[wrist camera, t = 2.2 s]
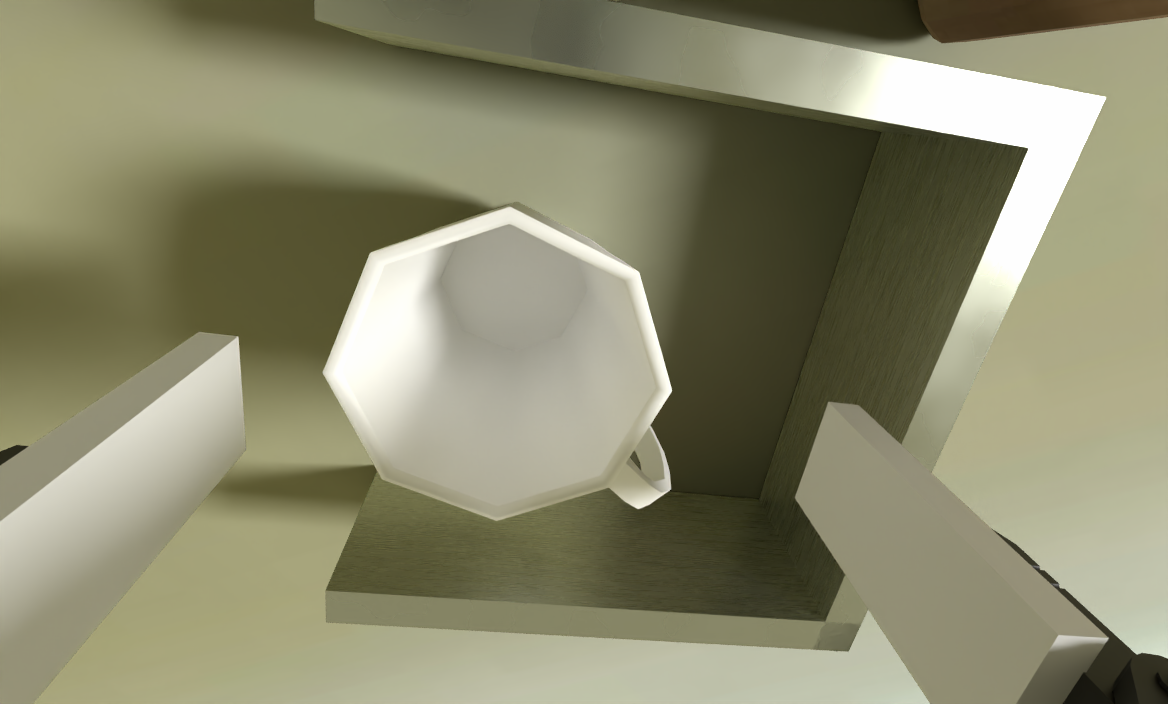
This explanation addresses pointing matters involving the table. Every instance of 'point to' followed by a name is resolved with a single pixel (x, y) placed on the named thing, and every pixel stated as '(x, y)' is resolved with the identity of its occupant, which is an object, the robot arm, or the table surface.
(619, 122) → the table surface
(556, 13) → the bay
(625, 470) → the cup
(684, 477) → the table surface
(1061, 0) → the wooden block
